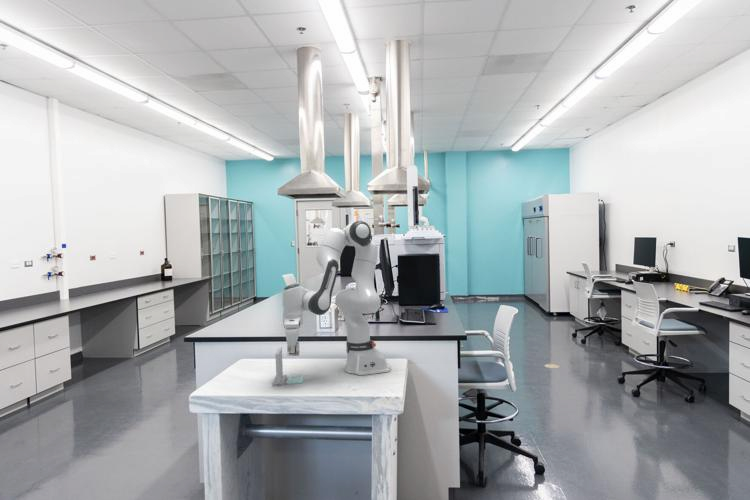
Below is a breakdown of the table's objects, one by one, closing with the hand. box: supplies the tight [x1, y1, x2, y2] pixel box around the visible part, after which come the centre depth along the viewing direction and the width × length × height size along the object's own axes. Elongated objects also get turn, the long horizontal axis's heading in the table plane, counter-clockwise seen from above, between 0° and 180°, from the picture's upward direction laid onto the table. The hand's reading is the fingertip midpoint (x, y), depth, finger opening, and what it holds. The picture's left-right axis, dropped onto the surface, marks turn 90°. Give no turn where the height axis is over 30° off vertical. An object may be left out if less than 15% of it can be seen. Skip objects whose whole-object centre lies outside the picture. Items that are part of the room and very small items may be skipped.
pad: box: [286, 376, 304, 385], centre depth 206 cm, size 7×7×1 cm
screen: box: [272, 346, 288, 387], centre depth 206 cm, size 5×12×14 cm, turn 6°
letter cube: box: [286, 341, 300, 357], centre depth 205 cm, size 5×5×5 cm
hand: (293, 351), depth 205 cm, fingers closed on letter cube, 5 cm apart
